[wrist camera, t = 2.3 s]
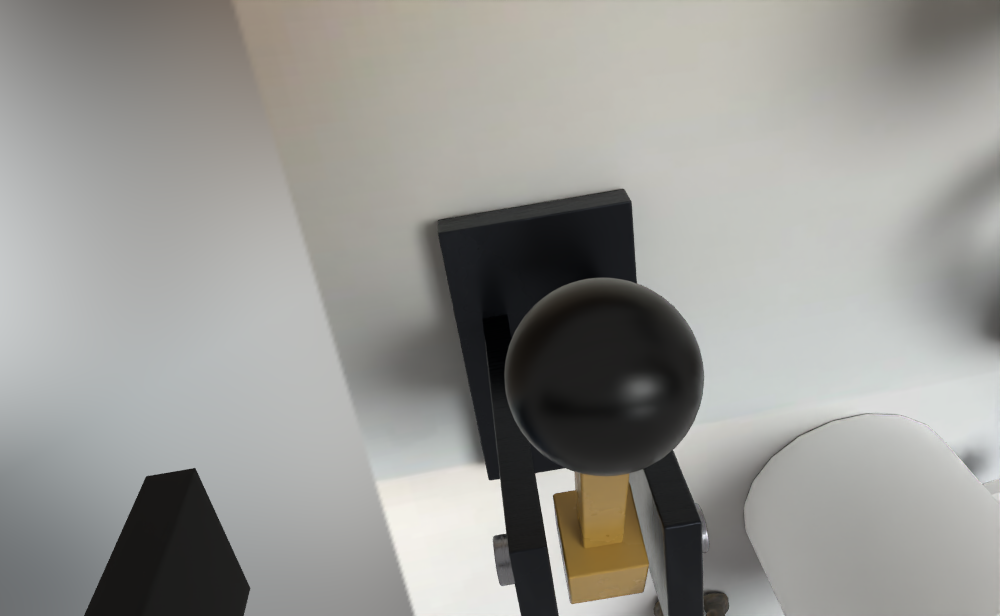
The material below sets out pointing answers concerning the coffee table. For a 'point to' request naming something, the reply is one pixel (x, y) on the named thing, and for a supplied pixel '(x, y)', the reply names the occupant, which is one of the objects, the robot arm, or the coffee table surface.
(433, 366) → the coffee table surface
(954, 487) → the mug
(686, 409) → the switch lever
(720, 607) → the rhino figurine
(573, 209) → the switch bracket
